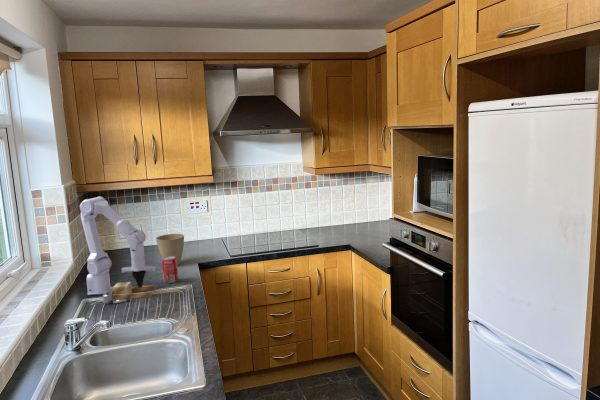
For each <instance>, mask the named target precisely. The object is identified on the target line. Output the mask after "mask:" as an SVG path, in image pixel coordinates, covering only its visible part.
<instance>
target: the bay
mask: <svg viewBox="0 0 600 400" xmlns="http://www.w3.org/2000/svg"><path fill="white" fill-rule="evenodd" d="M131 290H132V293H128V294H114V291H113V289H112V290H111V291H110V292H109V293H113V301H116V300H122V299H126V296H127V295H129V297H130V299H141V298H152V291H156V290H157V285H155V284H153V285H143V286H142V287H140V288H138V285H137V286H131ZM145 291H147V292H145Z"/></svg>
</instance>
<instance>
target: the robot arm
mask: <svg viewBox="0 0 600 400" xmlns="http://www.w3.org/2000/svg"><path fill="white" fill-rule="evenodd" d="M79 210H80V220H81V224H82V229H83V232H84V235H85V239H86V243H87V247H88V250H89V251H88V252H89V256H88V257H87V260H86V261H87V266H86V267H87V269H86V270H87V271H88V274H87V275H86V287H87V288H86V289H87V296H91V295H103V294H105V293H106V292H107V291H109V293H110V292H111V290H112V289H113V287H114V286H111V281H110V269H111V267H112V264H113V263H112V260H111V258H110V257H109V255H108V253H107V252H106V251H104V249H103V245H102V242H101V238H100V234H99V230H98V226H97V223H96V217H97V216H98V215H103V216H104V217H105V218H107V219H108V220H109V221H110V222H112V223H113V224H114V225H115V229H116V230H117V231H118V232H119V233H120V234H121V235H122V236H123V237H125V240H126V243H127V245H128V246H129V249H130V259H131V261H130V262H131V266H126V267H122V268H121V273H132V274H131V276H132V277H133V278H134V280H135V282H136V284H137V286H138V288H140V287H142V286H144V285H143V283H144V278H145V275H146V273H147V272H155V271H156V270H157V266H156V265H146V259H145V258H146V257H145V246H144V242H145V241H146V234H145V232H144V231H143V230H141V229H137V228H136V227H135V226H134V225H132V223H130V222H131V221H129V220H128V219H122V218H121V217H120V215H118V214H117V213H116V211H114V209H113V208H112V207H111V206H110V205H109V202H108V200H106V199H105V198H104V197H103V196H97V197H93V198H87V199H84V200H83V201H82V202H80V205H79Z"/></svg>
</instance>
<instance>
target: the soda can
mask: <svg viewBox="0 0 600 400" xmlns="http://www.w3.org/2000/svg"><path fill="white" fill-rule="evenodd" d="M161 267H162V279H163V283H167V284H173V283H176V282H177V281H178V280H179V269H178V267H179V266H178V265H177V260H176V259H175V257H174V256H168V257H164V258H163V259H162V264H161Z"/></svg>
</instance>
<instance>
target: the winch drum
mask: <svg viewBox="0 0 600 400" xmlns="http://www.w3.org/2000/svg"><path fill="white" fill-rule="evenodd" d="M102 301H103V305H110V304H112V303H113V301H114V300H113V293H110V292H109V291H107V292H106V293H105V294H102Z"/></svg>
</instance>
